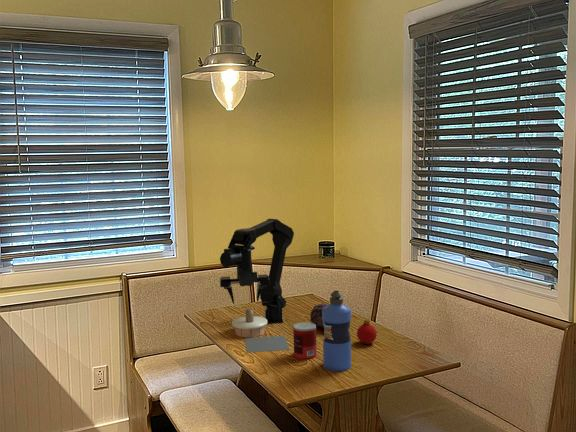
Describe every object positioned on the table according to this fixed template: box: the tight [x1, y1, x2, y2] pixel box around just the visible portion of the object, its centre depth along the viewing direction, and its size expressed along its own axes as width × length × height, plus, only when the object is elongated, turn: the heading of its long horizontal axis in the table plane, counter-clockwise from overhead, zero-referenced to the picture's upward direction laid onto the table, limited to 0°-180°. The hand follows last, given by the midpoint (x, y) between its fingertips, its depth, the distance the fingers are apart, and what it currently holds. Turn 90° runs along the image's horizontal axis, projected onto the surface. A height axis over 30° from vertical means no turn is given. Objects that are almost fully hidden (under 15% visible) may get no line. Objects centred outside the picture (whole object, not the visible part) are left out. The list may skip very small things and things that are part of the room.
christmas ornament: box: [356, 316, 378, 345], centre depth 213 cm, size 7×7×10 cm
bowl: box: [234, 325, 266, 338], centre depth 227 cm, size 11×12×4 cm
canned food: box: [292, 321, 317, 361], centre depth 201 cm, size 8×8×11 cm
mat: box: [244, 335, 291, 354], centre depth 214 cm, size 15×15×1 cm
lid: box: [231, 308, 268, 329], centre depth 227 cm, size 14×14×5 cm
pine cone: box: [309, 303, 330, 329], centre depth 230 cm, size 18×10×10 cm, turn 18°
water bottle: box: [322, 290, 352, 372], centre depth 192 cm, size 9×9×25 cm
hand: (245, 302), depth 227 cm, fingers open, 9 cm apart
